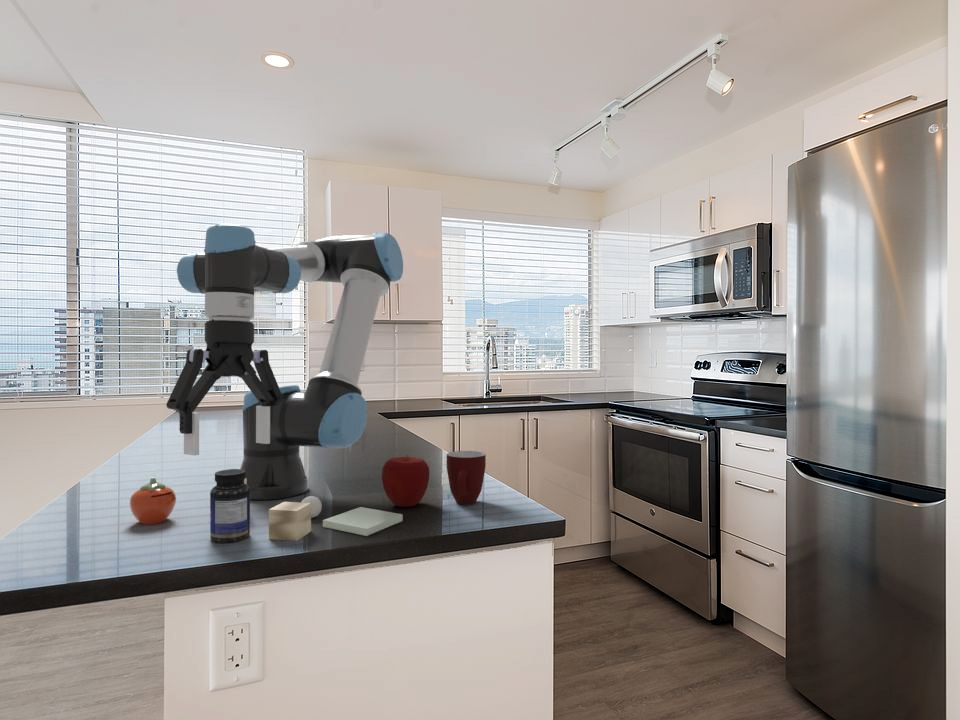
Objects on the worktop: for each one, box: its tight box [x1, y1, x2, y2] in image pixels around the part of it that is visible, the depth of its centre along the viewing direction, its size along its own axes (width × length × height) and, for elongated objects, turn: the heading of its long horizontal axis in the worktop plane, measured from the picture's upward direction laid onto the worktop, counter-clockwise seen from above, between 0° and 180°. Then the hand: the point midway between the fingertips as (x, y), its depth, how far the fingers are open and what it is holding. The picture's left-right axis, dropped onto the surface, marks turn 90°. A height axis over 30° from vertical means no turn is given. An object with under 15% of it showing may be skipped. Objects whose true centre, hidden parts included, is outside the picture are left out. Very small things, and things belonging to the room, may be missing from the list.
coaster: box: [322, 506, 404, 537], centre depth 104 cm, size 10×10×1 cm
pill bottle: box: [209, 468, 251, 544], centre depth 96 cm, size 6×6×11 cm
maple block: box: [268, 501, 312, 542], centre depth 98 cm, size 5×5×5 cm
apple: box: [381, 454, 430, 508], centre depth 117 cm, size 10×10×10 cm
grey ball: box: [300, 495, 323, 519], centre depth 108 cm, size 4×4×4 cm
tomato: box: [129, 477, 177, 526], centre depth 105 cm, size 7×7×8 cm
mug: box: [446, 450, 487, 506], centre depth 118 cm, size 11×8×10 cm
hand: (229, 448), depth 96 cm, fingers open, 13 cm apart
